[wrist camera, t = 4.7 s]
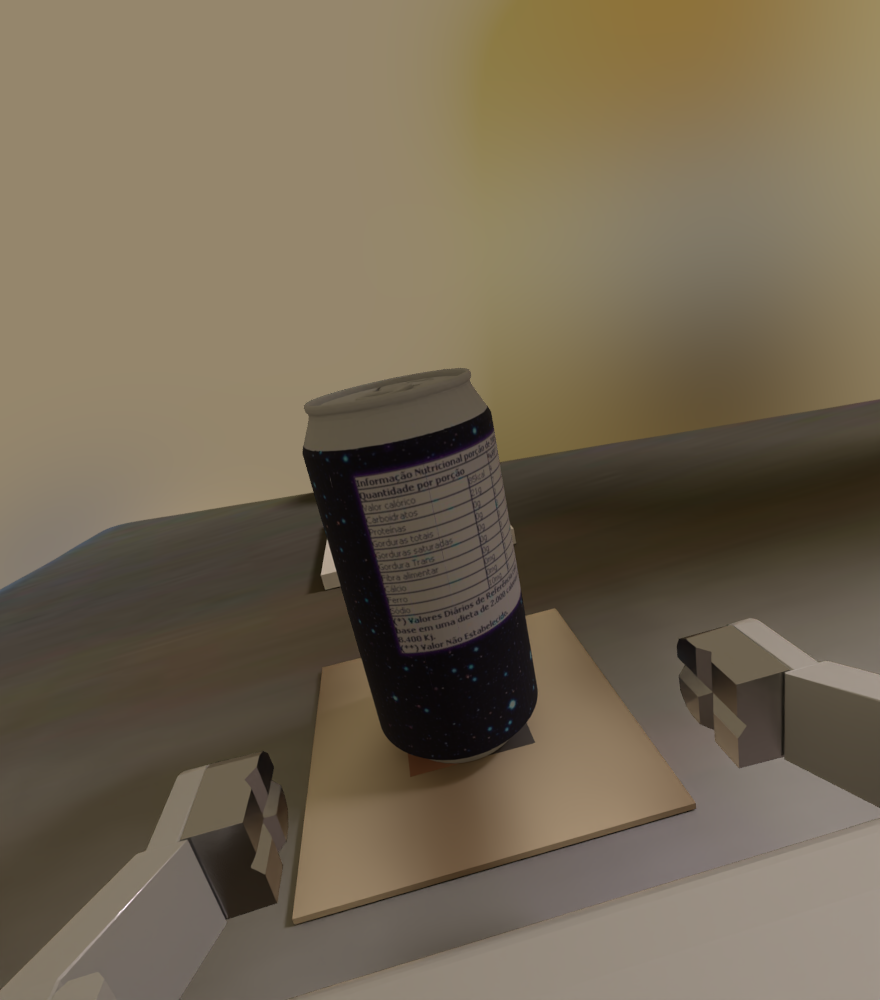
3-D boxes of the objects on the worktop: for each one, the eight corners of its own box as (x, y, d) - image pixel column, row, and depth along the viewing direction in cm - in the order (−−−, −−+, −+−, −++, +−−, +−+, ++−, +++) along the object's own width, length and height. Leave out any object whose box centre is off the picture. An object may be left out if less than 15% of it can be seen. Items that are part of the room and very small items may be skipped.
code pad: (555, 611, 25) (555, 608, 25) (696, 808, 14) (695, 802, 14) (323, 671, 24) (322, 667, 24) (294, 924, 14) (291, 918, 14)
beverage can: (542, 664, 21) (492, 358, 17) (540, 784, 16) (468, 382, 12) (407, 670, 22) (334, 388, 19) (363, 782, 17) (251, 421, 14)
